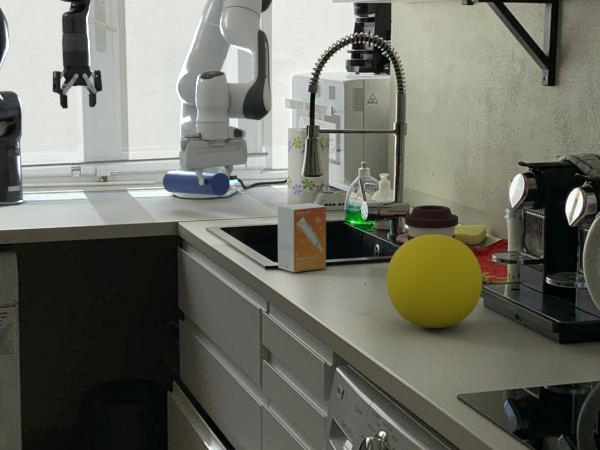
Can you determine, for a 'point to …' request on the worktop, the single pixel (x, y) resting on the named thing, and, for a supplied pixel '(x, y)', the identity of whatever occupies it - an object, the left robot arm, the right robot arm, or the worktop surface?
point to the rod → (196, 183)
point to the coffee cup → (431, 221)
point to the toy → (434, 281)
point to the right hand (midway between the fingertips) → (214, 183)
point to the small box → (301, 237)
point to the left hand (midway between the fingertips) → (78, 107)
